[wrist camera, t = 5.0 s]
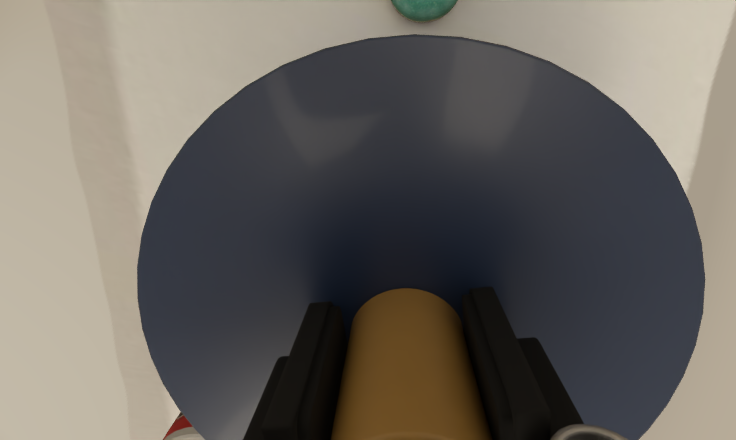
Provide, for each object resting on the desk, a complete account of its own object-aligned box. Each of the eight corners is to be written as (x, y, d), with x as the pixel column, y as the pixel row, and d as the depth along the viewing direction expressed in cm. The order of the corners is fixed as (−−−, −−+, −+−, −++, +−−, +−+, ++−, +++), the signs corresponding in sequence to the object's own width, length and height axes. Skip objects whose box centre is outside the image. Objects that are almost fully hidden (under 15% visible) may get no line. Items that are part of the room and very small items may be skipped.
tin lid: (84, 89, 10) (-258, 97, 5) (710, -12, 8) (1222, -161, 3) (229, 501, 15) (136, 737, 9) (651, 486, 13) (822, 759, 8)
